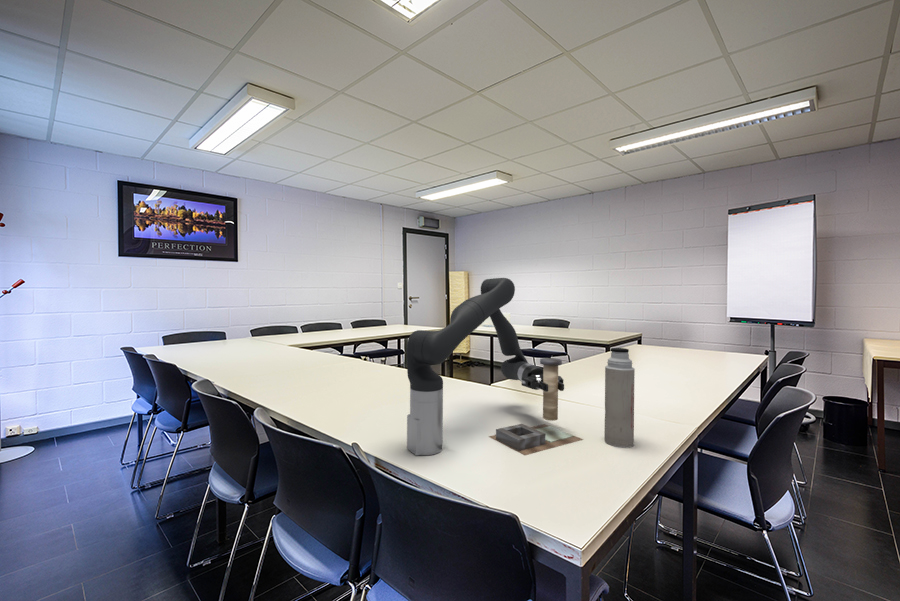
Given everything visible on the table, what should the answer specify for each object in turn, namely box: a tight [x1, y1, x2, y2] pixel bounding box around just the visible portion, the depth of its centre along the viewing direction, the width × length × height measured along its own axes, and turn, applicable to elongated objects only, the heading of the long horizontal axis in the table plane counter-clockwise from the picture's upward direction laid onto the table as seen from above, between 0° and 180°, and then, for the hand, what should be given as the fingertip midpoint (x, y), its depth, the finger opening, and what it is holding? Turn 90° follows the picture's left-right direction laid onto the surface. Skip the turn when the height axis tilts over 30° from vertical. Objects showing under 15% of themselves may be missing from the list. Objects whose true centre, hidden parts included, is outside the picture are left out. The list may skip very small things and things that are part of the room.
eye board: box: [488, 423, 584, 456], centre depth 115 cm, size 23×16×4 cm
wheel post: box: [539, 357, 563, 422], centre depth 118 cm, size 6×6×18 cm
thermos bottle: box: [603, 347, 636, 448], centre depth 114 cm, size 8×8×28 cm
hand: (554, 387), depth 115 cm, fingers closed on wheel post, 4 cm apart
